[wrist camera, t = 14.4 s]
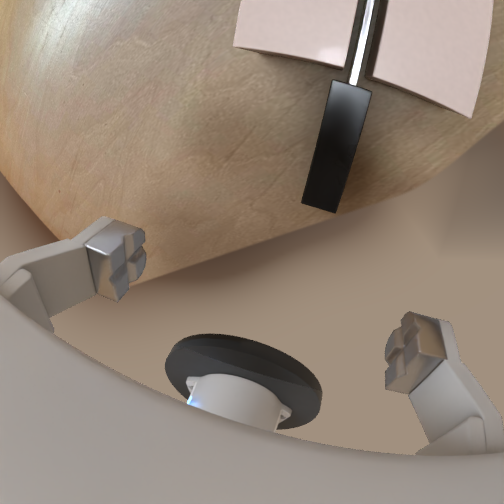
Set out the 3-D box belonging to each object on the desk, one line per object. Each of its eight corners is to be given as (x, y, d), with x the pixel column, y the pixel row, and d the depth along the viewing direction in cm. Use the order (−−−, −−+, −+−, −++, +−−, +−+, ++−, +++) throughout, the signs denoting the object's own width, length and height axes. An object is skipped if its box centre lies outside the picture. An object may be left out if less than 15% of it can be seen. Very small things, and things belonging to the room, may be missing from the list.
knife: (336, 197, 23) (335, 213, 20) (305, 188, 23) (300, 203, 21) (395, -52, 10) (401, -67, 7) (360, -62, 10) (362, -78, 8)
